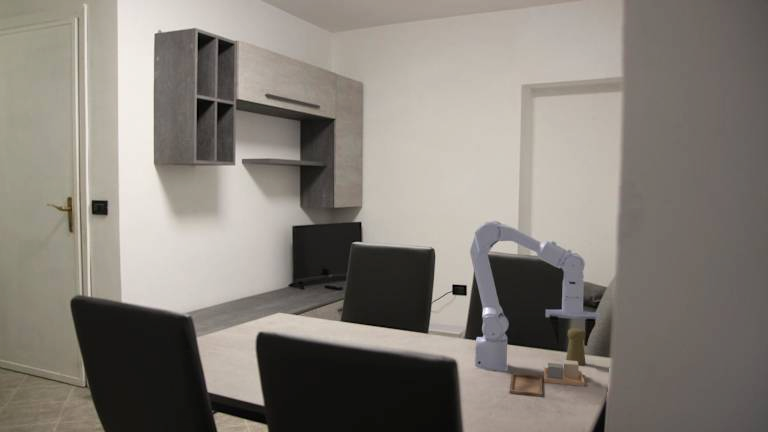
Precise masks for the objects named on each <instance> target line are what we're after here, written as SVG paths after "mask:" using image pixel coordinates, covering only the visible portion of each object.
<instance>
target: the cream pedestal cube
mask: <svg viewBox="0 0 768 432" xmlns="http://www.w3.org/2000/svg"><path fill="white" fill-rule="evenodd" d="M562 364H563V378H571V379H578V370H579V368H580V367H579V365H578V361H570V360H566V359H563V360H562ZM579 371H580V370H579Z"/></svg>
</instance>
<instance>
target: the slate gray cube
mask: <svg viewBox="0 0 768 432" xmlns="http://www.w3.org/2000/svg"><path fill="white" fill-rule="evenodd" d="M547 368H548V378H553V379H563V363H556V362H547Z"/></svg>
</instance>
